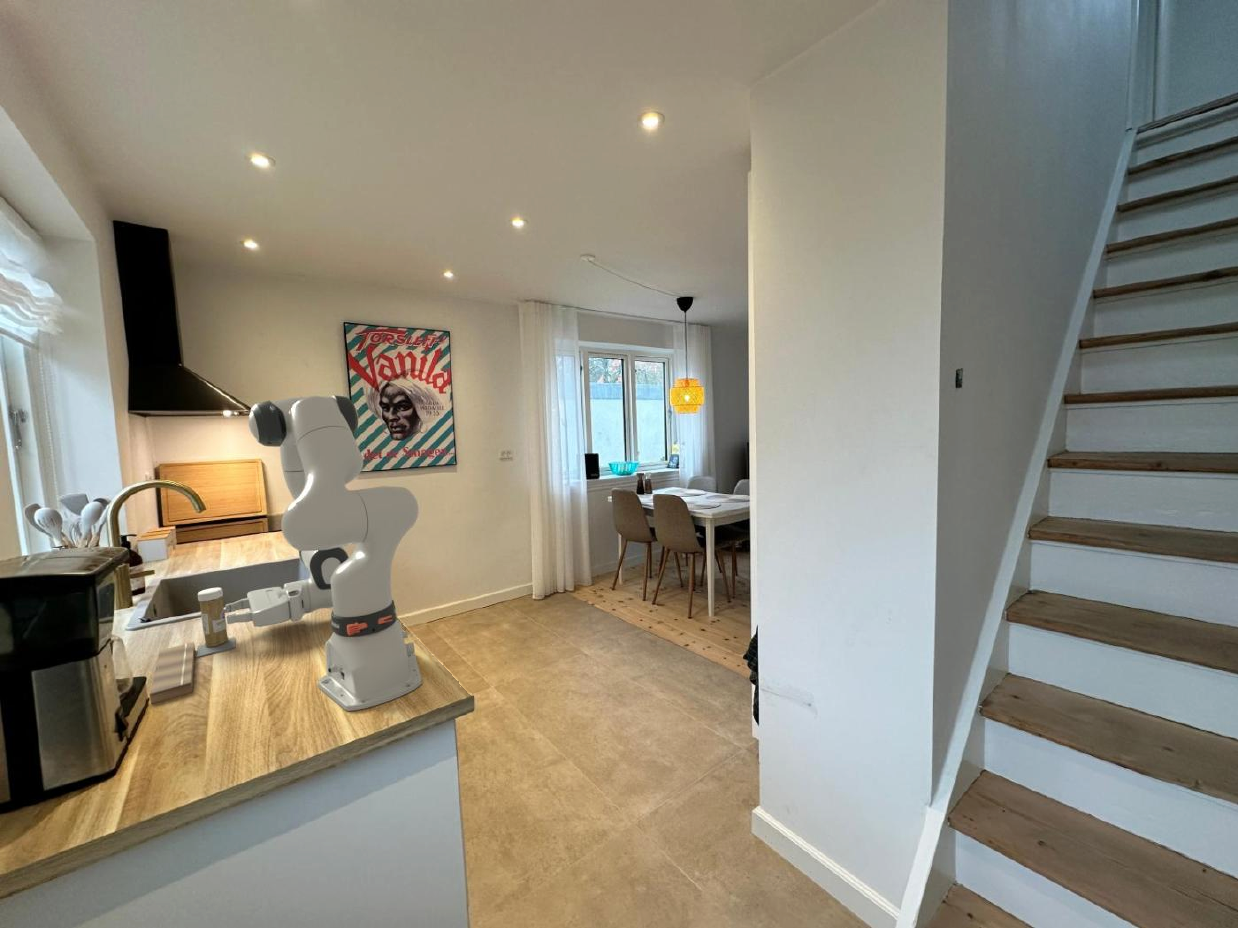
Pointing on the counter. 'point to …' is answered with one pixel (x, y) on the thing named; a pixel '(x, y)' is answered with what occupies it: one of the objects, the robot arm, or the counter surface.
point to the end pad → (216, 648)
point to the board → (173, 673)
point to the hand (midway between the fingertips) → (226, 614)
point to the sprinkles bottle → (213, 616)
